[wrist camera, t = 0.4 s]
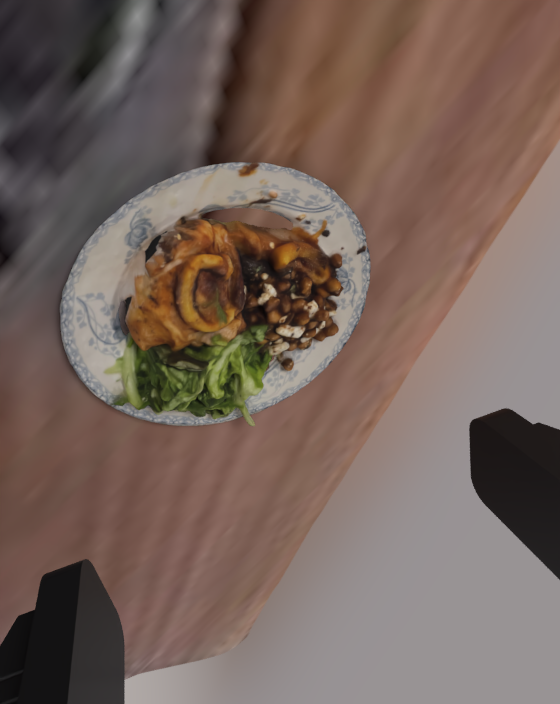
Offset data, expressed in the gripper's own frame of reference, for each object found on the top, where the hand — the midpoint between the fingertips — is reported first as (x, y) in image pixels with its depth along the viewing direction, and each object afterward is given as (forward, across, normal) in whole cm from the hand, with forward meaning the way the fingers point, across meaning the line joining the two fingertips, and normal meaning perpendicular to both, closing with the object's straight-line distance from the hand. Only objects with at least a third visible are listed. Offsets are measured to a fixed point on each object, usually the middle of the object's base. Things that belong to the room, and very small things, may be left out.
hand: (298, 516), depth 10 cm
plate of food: (+36, -3, +8) cm, 36 cm away
